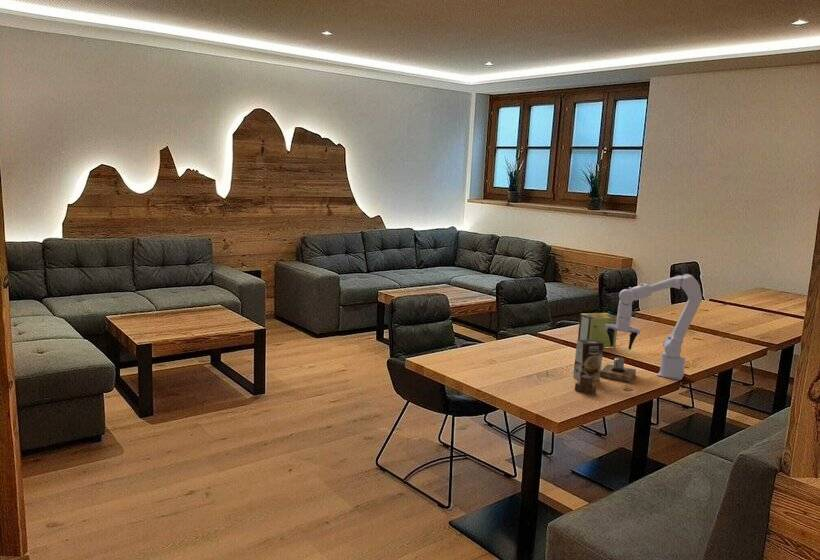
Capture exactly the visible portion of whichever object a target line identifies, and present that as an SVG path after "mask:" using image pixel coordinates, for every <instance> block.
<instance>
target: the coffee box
mask: <svg viewBox="0 0 820 560" xmlns="http://www.w3.org/2000/svg"><path fill="white" fill-rule="evenodd" d="M603 345H604V343H602V342H600V341H597V340H578V339H577V341H576V349H575V357H574V366H573V374H572V375H573V376H572V377H573V378H575V379H576V380H578V382H580V378H581V376H583V375H588V376H592V377H593V378H592V380H593V381H592V382H594V380H599V381H600V379H601V377H600V372H601V370H602V361H603V353H604V352H603V351H604V349H603Z"/></svg>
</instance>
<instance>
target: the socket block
mask: <svg viewBox="0 0 820 560" xmlns="http://www.w3.org/2000/svg"><path fill="white" fill-rule="evenodd" d="M613 368H614V364H610V363H609V364H608V363H607V364H606V365H605V366H604V367H603V368H601V372H600V378H603V377H605V378H604V379H608V378H610V379H609V380H613V379H615V380H614V381H618V380H619V381H620V382H624V383H631V382H632V380H633V379H634V378H635V377H636V372H637V369H633V368H629V367H624V368H623V373H620V372H615V371H613ZM619 381H618V382H619Z"/></svg>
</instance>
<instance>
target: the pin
mask: <svg viewBox="0 0 820 560" xmlns="http://www.w3.org/2000/svg"><path fill="white" fill-rule="evenodd" d="M624 364H625V358H623V357H617V356H615V357H614V359H613V365H614V368H613V371H615V372H620V373H623V368H624V366H625V365H624Z"/></svg>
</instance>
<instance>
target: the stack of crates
mask: <svg viewBox="0 0 820 560" xmlns="http://www.w3.org/2000/svg"><path fill="white" fill-rule="evenodd" d="M592 378H593V377H592V376H588V375H583V376H581V378H580V381H578V382H576V383H575V384H574V391H575V390H576V392H579V393H582V392H583V394H585V393H587V394H586V395H589V394H591V395H590V396H593V395H595V394H597V393H596V392H597V386H596V385H593V381H592ZM594 393H595V394H594ZM592 394H593V395H592Z"/></svg>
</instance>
